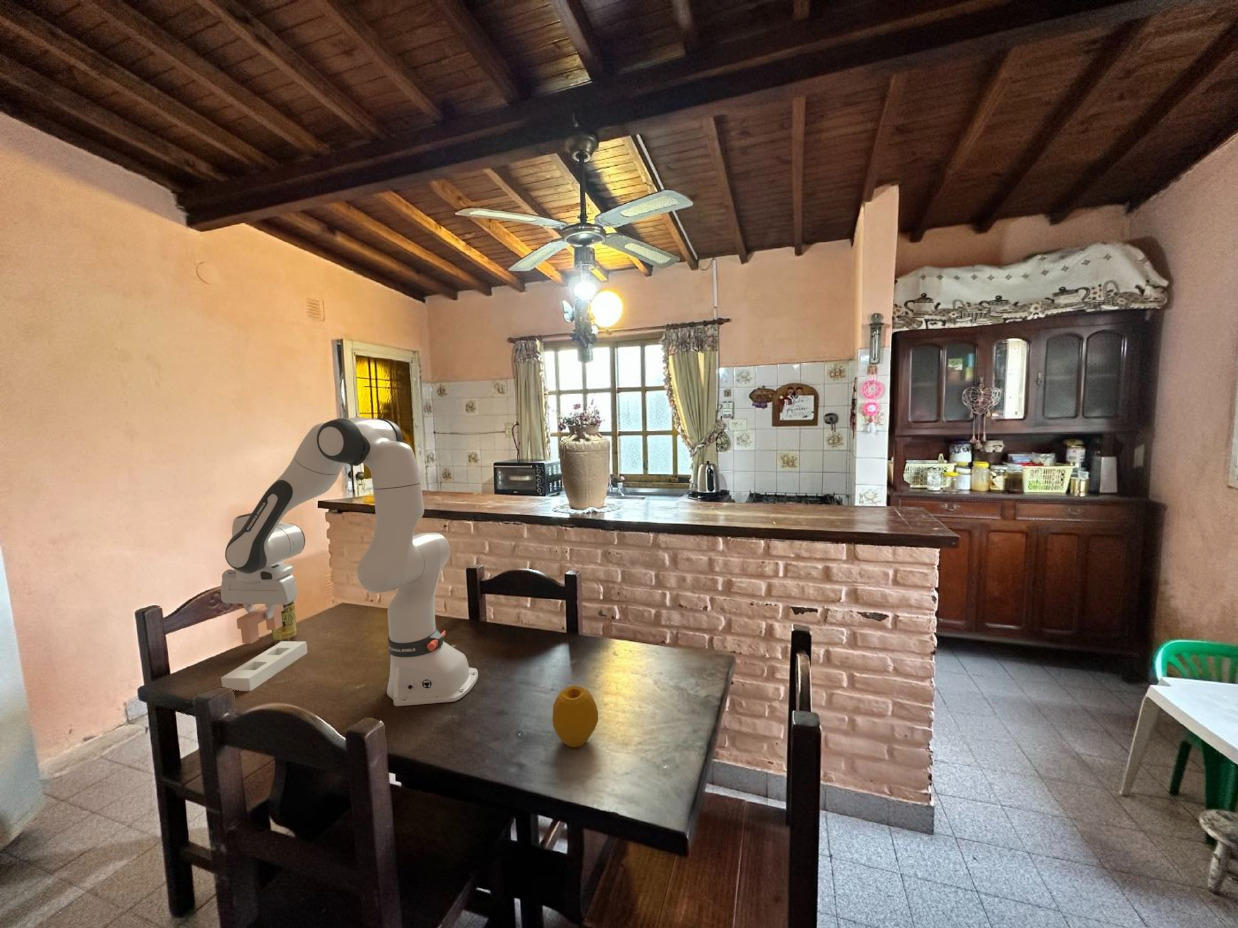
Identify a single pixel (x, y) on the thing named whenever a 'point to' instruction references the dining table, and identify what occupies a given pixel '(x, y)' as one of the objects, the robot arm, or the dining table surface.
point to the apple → (574, 715)
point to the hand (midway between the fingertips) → (261, 617)
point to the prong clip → (255, 617)
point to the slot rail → (264, 666)
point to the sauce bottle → (286, 625)
